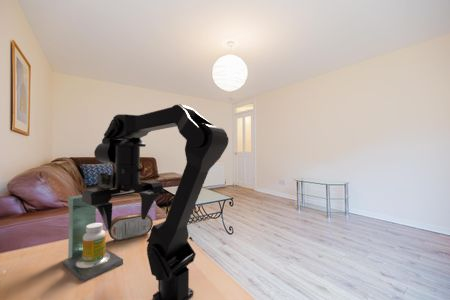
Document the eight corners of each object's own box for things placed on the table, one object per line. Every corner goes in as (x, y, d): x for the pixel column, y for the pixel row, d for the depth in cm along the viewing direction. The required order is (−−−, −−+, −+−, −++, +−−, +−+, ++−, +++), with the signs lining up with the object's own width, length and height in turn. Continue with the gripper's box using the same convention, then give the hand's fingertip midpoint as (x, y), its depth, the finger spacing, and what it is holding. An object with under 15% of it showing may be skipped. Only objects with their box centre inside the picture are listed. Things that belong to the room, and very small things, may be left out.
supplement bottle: (94, 266, 53) (94, 229, 53) (77, 263, 54) (77, 227, 54) (109, 255, 58) (110, 222, 58) (94, 253, 59) (94, 221, 59)
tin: (151, 231, 79) (151, 210, 79) (153, 234, 77) (153, 212, 77) (107, 240, 71) (108, 217, 71) (108, 244, 68) (108, 219, 68)
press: (123, 263, 57) (123, 200, 57) (82, 282, 48) (83, 208, 49) (88, 241, 70) (88, 190, 70) (51, 252, 62) (52, 195, 62)
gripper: (142, 161, 64) (142, 210, 64) (73, 164, 49) (72, 228, 49) (164, 163, 58) (164, 217, 58) (92, 166, 43) (91, 240, 42)
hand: (127, 224), depth 52 cm, fingers open, 9 cm apart
